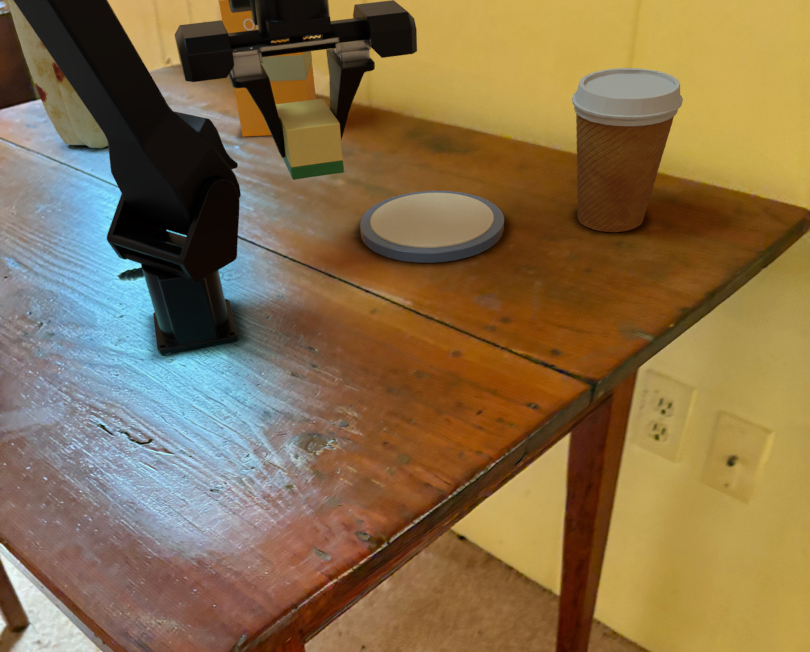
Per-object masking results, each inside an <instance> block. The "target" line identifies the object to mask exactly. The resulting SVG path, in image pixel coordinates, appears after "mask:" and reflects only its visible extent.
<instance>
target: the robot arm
mask: <svg viewBox="0 0 810 652" xmlns="http://www.w3.org/2000/svg"><path fill="white" fill-rule="evenodd" d="M13 1H14V2H15V4H16V5H17V6H18V8H19V9H20V11H21V12H22V14H23V15H24V17H25V18H26V20H27V21H28V23H29V24H30V26H31V27H32V28H33V30H34V31H35V33H36V34H37V36H38V37H39V39H40V40H41V42H42V43H43V45H44V46H45V48H46V49H47V50H48V52H49V53H50V55H51V56H52V58H53V59H54V61H55V62H56V64H57V65H58V67H59V68H60V70H61V71H62V72H63V74H64V75H65V77H66V78H67V80H68V81H69V83H70V84H71V86H72V87H73V89H74V90H75V91H76V93H77V94H78V96H79V97H80V99H81V100H82V102H83V103H84V105H85V106H86V108H87V109H88V111H89V112H90V113H91V115H92V116H93V118H94V119H95V121H96V122H97V124H98V125H99V127H100V128H101V130H102V131H103V133H104V134H105V136H106V138H107V141H108V146H107V147H108V157H109V167H110V173H111V175H112V178H113V179H114V181H115V183H116V185H117V188H118V190H119V191H120V193H121V194H120V197H119V199H118V203H117V206H116V208H115V212H114V214H113V217H112V219H111V223H110V224H109V225H110V226H109V227H108V228H109V229H108V231H107V234H106V241H107V242H108V244H109V246H110V247H111V248H112V250H113V251H114V252H115V254H116V255H117V257H118V258H119V259H122V260H125V261H127V260H129V261H131V262H134V263H137V264H140V265H141V266H140V267H141V270H142V274H143V276H144V280H145V283H146V287H147V290H148V293H149V296H150V297H149V298H150V300H151V304H152V307H153V310H154V312H153V314H152V315H153V323H154V332H155V333H154V334H155V342H156V349H157V352H158V354H160V355H167V354H172V353H177V352H183V351H188V350H193V349H198V348H204V347H210V346H216V345H220V344H226V343H231V342H235V341H237V340H239V338H240V336H239V332H238V328H237V324H236V321H235V317H234V313H233V312H234V311H233V309H232V304H231V301H230V299H227V298H225V294H224V290H223V285H222V280H221V276H220V272H219V270H221V269H223V268H224V267H226V266H227V265H230V264H231V263H233V262H235V261H236V260H237V259H238V243H239V222H240V198H241V196H242V193H241V187H240V183H239V180H238V178H237V176H236V173H235V172H234V171H233V170H235V169H237V168H239V167H238V166H239V165H238V162H237V161H236V160H234V159H233V158H232V157H231V156H230V155H229V153H228V152H227V150H226V148H225V146H224V144H223V141H222V138H221V136H220V133H219V130H218V129H217V127H216V126H215V124H214V123H213V121H212V120H211V119H210V118H208V117H203V116H198V115H193V114H188V113H184V112H180V111H179V112H178V111H175V110H173V109H172V108H171V107H170V105H169V104H168V102H167V100H166V99H165V97H164V95H163V94H162V92H161V90H160V89H159V87H158V85H157V83H156V82H155V80H154V78H153V76H152V75H151V73H150V71H149V70H148V67H147V66H146V64H145V62H144V61H143V59H142V58H141V56H140V54H139V52H138V50H137V49H136V47H135V46H134V44H133V42H132V40H131V39H130V37H129V35H128V34H127V31H126V30H125V28H124V27H123V25H122V23H121V22H120V19H119V18H118V16H117V14H116V13H115V11H114V9H113V8H112V5H111V4H110V2H109V0H13ZM228 1H229V6H230V10H231V12H232V13H236V12H245V11H251V13H252V19H253V23H254V24H255V25H258V28H259V30H252V31H243V32H235V33H228V32H227V30H226V28H225V26H224V24H223V22H222V19H221V20H212V21H204V22H195V23H194V22H193V23H185V24H179V25H178V27H177V29H176V31H175V33H174V40H175V45H176V50H177V53H178V58H179V63H180V67H181V70H182V74H183V78H184V80H185V82H191V83H198V82H205V81H213V80H220V79H221V80H222V79H227V78H228V79H229V81H230V84H231V86H232V87H233V89H234V88H246V89H247V90H248V92H249V93H250V95H251V97H252V98H253V100H254V102H255V103H256V105H257V106H258V108H259V110H260V111H261V113H262V115H263V117H264V119H265V121H266V124H267V126H268V128H269V130H270V133H271V135H270V136H271V137H272V139H273V142H274V144H275V146H276V149H277V151H278V153H279V155H280V157H281V158H282V159H283V158H284V157H286V155H285V144H284V136H283V132H282V128H281V124H280V120H279V116H278V112H277V108H276V104H275V100H274V96H273V91H272V87H271V83H270V79H269V77H268V75H267V73H266V71H265V69H264V68H263V66H262V64H261V63H263V61H262V57H268V56H276V55H284V54H292V53H300V52H308V51H311V52H315V51H322V50H324V51H326V52H325V53H326V61H327V68H328V75H329V76H328V77H329V79H328V80H329V108H330V110H331V111H332V113H333V114H334V116H335V117H336V119H337V120H338V122H339V123H340V133H341V142H342V141H343V137H344V133H345V129H346V126H347V122H348V119H349V115H350V110H351V108H352V104H353V102H354V99H355V97H356V95H357V92H358V89H359V87H360V85H361V82H362V80H363V78H364V74H365V73H367V72H372V71H374V70H375V69H376V62H375V61H374V60H373V58H371V56H370V50H373V51H374V52H375V53H376V54H377V55H378V56H379V57H380V58H381V59H383V58H393V57H399V56H407V55H413V54H415V53H417V52H418V34H417V33H418V31H417V30H418V29H417V24H416V20H415V18H414V17H413V15H411V13H410V12H409V11H408V10H406V9H405V8H404V7H403V6H402V5H400V4H399V3H398V2H396V0H383V1H375V2H366V3H358V4H357V3H355V4H354V6H353V13H352V18H346V19H335V20H331V16H330V15H331V14H330V6H329V0H228ZM305 37H309V38H310V39H308V38H306V39H304V38H305ZM286 39H289V41H286V42H284V41H281V40H286ZM277 40H279V41H281V42H276V43H273V42H272V41H277ZM271 42H272V43H271Z"/></svg>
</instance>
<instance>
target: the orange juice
mask: <svg viewBox="0 0 810 652" xmlns="http://www.w3.org/2000/svg"><path fill="white" fill-rule="evenodd" d="M218 5H219V6H218V7H219V11H220V17H221V20H222V22H223V24H224V26H225V28H226V30H227V32H228V33H235V32H243V31H252V30H259V28H258V25H255V24H254V23H253V19H252V13H251V11H245V12H236V13H232V12H231V10H230V6H229V1H228V0H218ZM306 38H308V39H310V38H311V37H305V38H304V39H306ZM281 41H284V42H286V41H289V39H286V40H281ZM281 41H279V40H277V41H272V42H273V43H276V42H281ZM272 42H271V43H272ZM262 61H263V63H261V64H262V66H263V68H264V69H265V71H266V73H267V75H268V77H269V79H270V83H271V87H272V91H273V96H274V100H275V104H283V103H291V102H298V101H306V100H314V99H317V95H316V86H315V77H314V68H313V55H312V51H308V52H300V53H292V54H284V55H276V56H268V57H262ZM233 90H234V96H235V101H236V107H237V111H238V117H239V124H240V129H241V134H242V135H241V136H242V138H243V137H264V136H265V137H266V136H272V135H271V133H270V130H269V128H268V126H267V124H266V121H265V119H264V117H263V115H262V113H261V111H260V110H259V108H258V106H257V105H256V103H255V102H254V100H253V98H252V97H251V95H250V93H249V92H248V90H247V89H246V88H234V87H233Z"/></svg>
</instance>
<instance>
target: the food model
mask: <svg viewBox="0 0 810 652" xmlns="http://www.w3.org/2000/svg"><path fill="white" fill-rule="evenodd" d="M7 4H8V6H9V10H10V15H11V19H12V21H13V25H14V28H15V31H16V34H17V37H18V40H19V44H20V46H21V50H22V53H23V56H24V59H25V62H26V64H27V67H28V70H29V73H30V75H31V78H32V81H33V84H34V86H35V88H36V91H37V94H38V96H39V98H40V101H41V103H42V106H43V108H44V110H45V112H46V114H47V116H48V118H49V121H50V122H51V124H52V126H53V128H54V129H55V131H56V133H57V134H58V135H59V137H60V139H61V141H62V142H63V143H64V144H65V145H69V146H87V147H88V148H90V149H104V148H106V147H108V141H107V138H106V136H105V134H104V133H103V131H102V130H101V128H100V127H99V125H98V124H97V122H96V121H95V119H94V118H93V116H92V115H91V113H90V112H89V111H88V109H87V108H86V106H85V105H84V103H83V102H82V100H81V99H80V97H79V96H78V94H77V93H76V91H75V90H74V89H73V87H72V86H71V84H70V83H69V81H68V80H67V78H66V77H65V75H64V74H63V72H62V71H61V70H60V68H59V67H58V65H57V64H56V62H55V61H54V59H53V58H52V56H51V55H50V53H49V52H48V50H47V49H46V48H45V46H44V45H43V43H42V42H41V40H40V39H39V37H38V36H37V34H36V33H35V31H34V30H33V28H32V27H31V26H30V24H29V23H28V21H27V20H26V18H25V17H24V15H23V14H22V12H21V11H20V9H19V8H18V6H17V5H16V4H15V2H14V1H13V0H7Z"/></svg>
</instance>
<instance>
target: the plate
mask: <svg viewBox="0 0 810 652" xmlns="http://www.w3.org/2000/svg"><path fill="white" fill-rule="evenodd" d="M359 229H360V230H359V231H360V237H361V240H362V242H363V243H364V245H365V246H366V247H367V248H368V249H369V250H371V251H372V252H374V253H376V254H378V255H379V256H380V255H381V256H382V257H385V258H389V259H392V260H396V261H400V262H407V263H419V264H420V263H421V264H437V263H447V262H454V261H459V260H464V259H467V258H470V257H474V256H477V255H479V254H481V253H483V252H486V251H488V250H489V249H490V248H492V247H494V246H495V245H496V244H497V243H498V242H499V241H500V240H501V238H502V237H503V235H504V232H505V215H504V212H503V211H502V210H501V208H500V207H499V206H497V205H496V204H495V203H493V202H492V201H490V200H489V199H486V198H484V197H481V196H478V195H475V194H472V193H471V194H470V193H466V192H460V191H452V190H424V191H414V192H408V193H404V194H403V193H402V194H399V195H395V196H392V197H389V198H386V199H384V200H382V201H380V202H378V203H375V204H374V205H372V206H371V207H370V208H369V209H367V210H366V211H365V212H364V213H363V215H362V217H361V218H360V222H359Z"/></svg>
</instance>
